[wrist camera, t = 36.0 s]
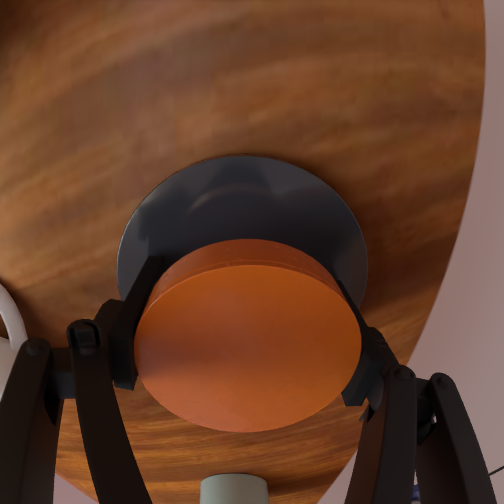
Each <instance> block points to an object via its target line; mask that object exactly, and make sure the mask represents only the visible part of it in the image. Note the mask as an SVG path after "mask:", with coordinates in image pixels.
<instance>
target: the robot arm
mask: <svg viewBox="0 0 504 504" xmlns="http://www.w3.org/2000/svg"><path fill="white" fill-rule="evenodd" d="M162 266H163V257H157V256H148V258H147V260H146V261H145V263H144V265H143V267H142V269H141V271H140V272H139V274H138V276H137V278H136V280H135V282H134V284H133V285H132V287H131V289H130V291H129V293H128V295H127V297H126V299H125V301H120V300H114V299H110V300H108V301H107V302H105V303H104V304H102V306H101V308H100V310H99V311H98V313H97V315H96V316H95V318H94V320H90V319H81V320H76V321H74V322H72V323H71V324H70V325H69V326H68V327H67V331H66V333H67V338H68V342H69V347H67V348H51V345H50V343H49V342H48V341H47V340H46V339H44V338H40V337H33V338H30V339H27V340H26V341H25V342H23V343H22V345H21V346H20V349H19V351H18V353H17V356H16V359H15V361H14V364H13V366H12V369H11V372H10V374H9V377H8V380H7V383H6V386H5V389H4V392H3V395H2V398H1V401H0V504H53V491H54V476H55V464H56V454H57V445H58V437H59V430H60V423H61V416H62V410H63V404H64V399H75V398H76V405H77V411H78V417H79V423H80V428H81V433H82V438H83V443H84V448H85V452H86V456H87V461H88V465H89V469H90V473H91V476H92V480H93V484H94V487H95V491H96V494H97V497H98V501H99V504H153V503H152V501H151V499H150V496H149V494H148V491H147V489H146V486H145V484H144V481H143V479H142V476H141V474H140V471H139V468H138V466H137V463H136V460H135V457H134V455H133V452H132V449H131V446H130V443H129V440H128V437H127V434H126V430H125V427H124V424H123V421H122V417H121V414H120V410H119V407H118V403H117V400H116V396H115V392H114V388H113V384H112V382H113V379H114V384H115V387H117V388H122V389H127V390H132V391H133V390H134V386H135V383H136V379H137V376H138V372H137V369H136V366H135V357H134V336H135V333H136V329H137V326H138V323H139V321H140V318H141V316H142V313H143V311H144V308H145V306H146V303H147V301H148V299H149V296H150V294H151V292H152V290H153V288H154V286H155V284H156V283H157V282H158V280H159V279H160V278H161V276H162ZM334 280H335V281H336V283H337V284H338V286H339V288H340V290H341V291H342V293H343V295H344V297H345V298H346V300H347V302H348V304H349V306H350V307H351V309H352V311H353V313H354V315H355V317H356V320H357V322H358V324H359V328H360V333H361V354H360V359H359V362H358V365H357V367H356V370H355V372H354V374H353V376H352V378H351V380H350V381H349V383H348V385H347V386H346V387H345V389H344V390H343V391H342V392H341V394H342V397H343V400H344V403H345V406H361V405H362V404H363V402H364V400H365V398H366V397H367V399H368V401H369V405H368V406H367V408H366V410H365V411H364V413H363V414H362V416H361V417H360V419H359V421H362V419H363V418H364V421H363V427H362V432H361V437H360V442H359V446H358V451H357V456H356V460H355V464H354V469H353V473H352V477H351V481H350V484H349V488H348V492H347V496H346V499H345V503H344V504H497V502H496V498H495V494H494V491H493V487H492V484H491V480H490V477H489V476H490V475H492V474H494V473H496V472H498V471H500V470H502V469H503V468H504V466H503V467H501V468H499V469H497V470H495V471H493V472H491V473H489V474H488V470H487V467H486V465H485V461H484V458H483V455H482V452H481V449H480V446H479V443H478V441H477V438H476V435H475V432H474V430H473V427H472V424H471V422H470V419H469V417H468V414H467V411H466V409H465V407H464V404H463V402H462V399H461V397H460V394H459V392H458V390H457V388H456V385H455V383H454V382H453V380H452V379H451V378H450V377H449V376H448V375H446V374H443V373H434V374H433V375H432V376H431V378H430V380H425V379H421V378H416V376H415V374H414V372H413V371H412V370H411V369H410V368H408V367H406V366H404V365H400V364H399V363H398V361H397V359H396V358H395V356H394V354H393V352H392V351H391V349H390V348H389V346H388V344H387V342H385V341H386V340H385V339H384V337H383V335H382V334H381V333H380V332H379V331H378V330H377V329H376V328H374V327H368V326H367V324H366V323H365V321H364V319H363V317H362V316H361V314H360V312H359V310H358V309H357V307H356V305H355V304H354V302H353V300H352V298H351V297H350V295H349V293H348V292H347V290H346V288H345V287H344V285H343V283H342V282H341V280H336V279H334ZM435 416H436V421H437V422H436V423H435V422H434V419H433V418H434V417H435ZM415 471H416V477H417V482H418V488H419V495H420V501H421V503H420V501H419V499H417V498H413V499H412V496H413V487H414V475H415Z"/></svg>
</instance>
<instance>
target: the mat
mask: <svg viewBox="0 0 504 504" xmlns="http://www.w3.org/2000/svg"><path fill="white" fill-rule="evenodd" d="M237 239H260V240H267V241H274V242H277V243H281V244H285V245H288V246H291V247H293V248H295V249H298V250H300V251H302V252H304V253H306V254H307V255H309V256H311V257H312V258H314V259H315V260H316V261H317V262H319V263H320V264H321V265H322V266H323V267H324V268H325V269H326V270H327V271H328V272H329V273H330V274H331V275H332V277H333V278H334V279H336V280H341V282H342V283H343V285H344V287H345V288H346V290H347V292H348V293H349V295H350V297H351V298H352V300H353V302H354V304H355V305H356V307H357V309H359V307H360V305H361V302H362V299H363V296H364V292H365V289H366V283H367V276H368V256H367V249H366V244H365V240H364V237H363V234H362V230H361V228H360V226H359V224H358V222H357V220H356V217H355V215H354V214H353V213H352V211H351V210H350V208H349V207H348V205H347V204H346V202H345V201H344V200H343V199H342V198H341V197H340V196H339V195H338V193H337V192H336V191H335V190H334V189H333V188H331V187H330V186H329V185H328V184H326V183H325V182H324V181H323V180H321V179H320V178H319V177H317V176H316V175H314V174H313V173H311V172H309V171H307V170H306V169H304V168H302V167H300V166H298V165H295V164H293V163H290V162H288V161H285V160H282V159H278V158H274V157H270V156H266V155H256V154H228V155H222V156H217V157H212V158H208V159H205V160H202V161H199V162H196V163H193V164H191V165H189V166H187V167H185V168H183V169H181V170H179V171H177V172H175V173H174V174H172V175H171V176H169V177H168V178H166V179H165V180H164V181H162V182H161V183H160V184H159V185H158V186H157V187H156V188H155V189H153V190H152V191H151V192H150V193H149V194H148V195H147V196H146V197H145V198H144V199H143V201H142V202H141V203H140V205H139V206H138V207H137V208H136V210H135V211H134V213H133V214H132V216H131V218H130V220H129V222H128V223H127V225H126V227H125V230H124V233H123V235H122V238H121V241H120V246H119V250H118V255H117V281H118V288H119V292H120V296H121V300H122V301H125V299H126V297H127V295H128V293H129V291H130V289H131V287H132V285H133V284H134V282H135V280H136V278H137V276H138V274H139V272H140V271H141V269H142V267H143V265H144V263H145V261H146V260H147V258H148V256H157V257H163V266H162V275H163V274H164V273H165V272H166V271H167V270H168V269H169V268H170V267H171V266H172V265H173V264H174V263H176V262H177V261H178V260H180V259H181V258H182V257H184V256H186V255H188V254H190V253H191V252H193V251H195V250H197V249H200V248H202V247H205V246H208V245H210V244H214V243H218V242H223V241H228V240H237Z"/></svg>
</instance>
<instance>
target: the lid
mask: <svg viewBox="0 0 504 504" xmlns="http://www.w3.org/2000/svg"><path fill="white" fill-rule="evenodd" d="M360 354H361V333H360V328H359V324H358V322H357V320H356V317H355V315H354V313H353V311H352V309H351V307H350V306H349V304H348V302H347V300H346V298H345V297H344V295H343V293H342V291H341V290H340V288H339V286H338V284H337V283H336V281H335V280H334V278H333V277H332V275H331V274H330V273H329V272H328V271H327V270H326V269H325V268H324V267H323V266H322V265H321V264H320V263H319V262H317V261H316V260H315V259H314V258H312V257H311V256H309V255H307V254H306V253H304V252H302V251H300V250H298V249H295V248H293V247H291V246H288V245H285V244H281V243H277V242H274V241H267V240H260V239H237V240H228V241H223V242H218V243H214V244H210V245H208V246H205V247H202V248H200V249H197V250H195V251H193V252H191V253H190V254H188V255H186V256H184V257H182V258H181V259H180V260H178V261H177V262H176V263H174V264H173V265H172V266H171V267H170V268H169V269H168V270H167V271H166V272H165V273H164V274H163V275H162V276H161V278H160V279H159V280H158V282H157V283H156V284H155V286H154V288H153V290H152V292H151V294H150V296H149V299H148V301H147V303H146V306H145V308H144V311H143V313H142V316H141V318H140V321H139V323H138V326H137V329H136V333H135V336H134V357H135V366H136V369H137V372H138V374H139V377H140V379H141V381H142V383H143V384H144V386H145V387H146V389H147V390H148V391H149V393H150V394H151V395H152V396H153V397H154V398H155V399H156V400H157V401H158V402H159V403H160V404H161V405H162V406H164V407H165V408H166V409H168V410H169V411H171V412H172V413H174V414H175V415H177V416H179V417H181V418H183V419H185V420H187V421H189V422H192V423H194V424H197V425H200V426H203V427H207V428H211V429H215V430H221V431H229V432H258V431H266V430H272V429H277V428H281V427H284V426H288V425H291V424H294V423H296V422H299V421H301V420H303V419H306V418H308V417H310V416H312V415H313V414H315V413H317V412H318V411H320V410H321V409H323V408H324V407H326V406H327V405H328V404H330V403H331V402H332V401H333V400H334V399H335V398H336V397H337V396H338V395H339V394H340V393H341V392H342V391H343V390H344V389H345V387H346V386H347V385H348V383H349V381H350V380H351V378H352V376H353V374H354V372H355V370H356V367H357V365H358V362H359V359H360Z"/></svg>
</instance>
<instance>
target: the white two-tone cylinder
mask: <svg viewBox="0 0 504 504" xmlns="http://www.w3.org/2000/svg"><path fill="white" fill-rule="evenodd" d="M0 314H1V316H2V318H3V321H4V323H5V325H6V328H7V332H8V335H9V340H8V339H5V338H3V337H1V336H0V401H1V398H2V395H3V392H4V389H5V386H6V383H7V380H8V377H9V374H10V372H11V369H12V366H13V364H14V361H15V359H16V356H17V353H18V351H19V349H20V346H21V345H22V343H23V342H25V341H26V340H27V339H28V337H27V333H26V330H25V326H24V322H23V319H22V317H21V315H20V313H19V310H18V308H17V306H16V303H15V302H14V300H13V299H12V297H11V296H10V294H9V293H8V291H7V290H6V289H5V288H4V287H3V286H2V285H1V284H0Z"/></svg>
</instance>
